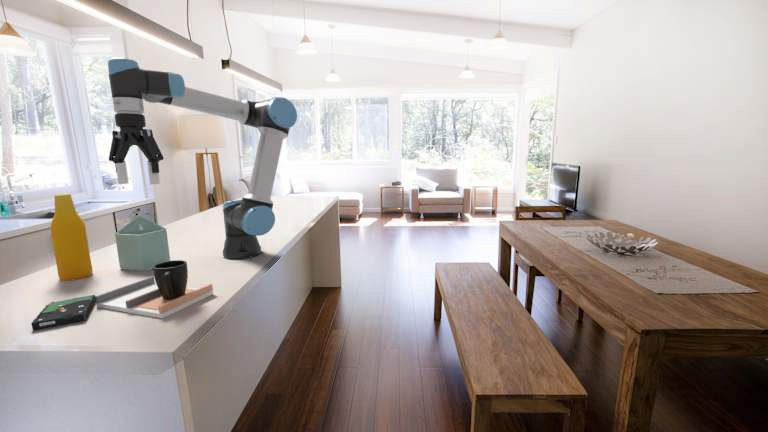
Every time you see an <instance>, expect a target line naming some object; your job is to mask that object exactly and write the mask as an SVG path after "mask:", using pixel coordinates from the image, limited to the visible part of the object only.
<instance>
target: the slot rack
mask: <svg viewBox="0 0 768 432" xmlns="http://www.w3.org/2000/svg"><path fill="white" fill-rule="evenodd" d="M213 289H214V288H213V283H209V284H207V285H204V286H202V287H200V288H197V287H191V286H190V287H188V286H186V291H185V295H183V296H181V297H179V298H176V299H171V300H166V299H163V297H162V295H161V293H160V291H159V289H158V287H157V284H156V281H155V278H154V276H150V277H147V278H144V279H141V280H138V281H135V282H133V283H130V284H126V285H124V286H121V287H118V288H114V289H112V290H109V291H107V292H104V293H101V294H98V295H95V298H96V303H95V305H96V308H100V309H105V310H110V311H116V312H123V313H127V314H128V313H129V314H134V315H140V316H145V317H152V318H157V319H164V318H167V317H169V316H170V315H171V316H172V315H173V314H175V313H177V312H179V311H181V310H183V309H185V308H187V307H189V306H192V305H194V304H195V303H198V302H200V301H203V300H204V299H206V298H208V297H210V296H213V295H214V290H213Z"/></svg>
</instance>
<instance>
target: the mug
mask: <svg viewBox="0 0 768 432" xmlns="http://www.w3.org/2000/svg"><path fill="white" fill-rule="evenodd" d="M152 269H153V277H154V281H155V283H156V284H157V287H158V289H159V291H160V293H161V295H162V297H163V299H166V300H171V299H176V298H179V297H181V296H183V295H185V291H186V287H188V286H187V285H188V278H189V277H188V274H189V272H188V263H187V261H186V260H183V259H182V260H180V259H175V260H170V261H166V262H162V263H159V264H156V265H154V266H153V268H152Z"/></svg>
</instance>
